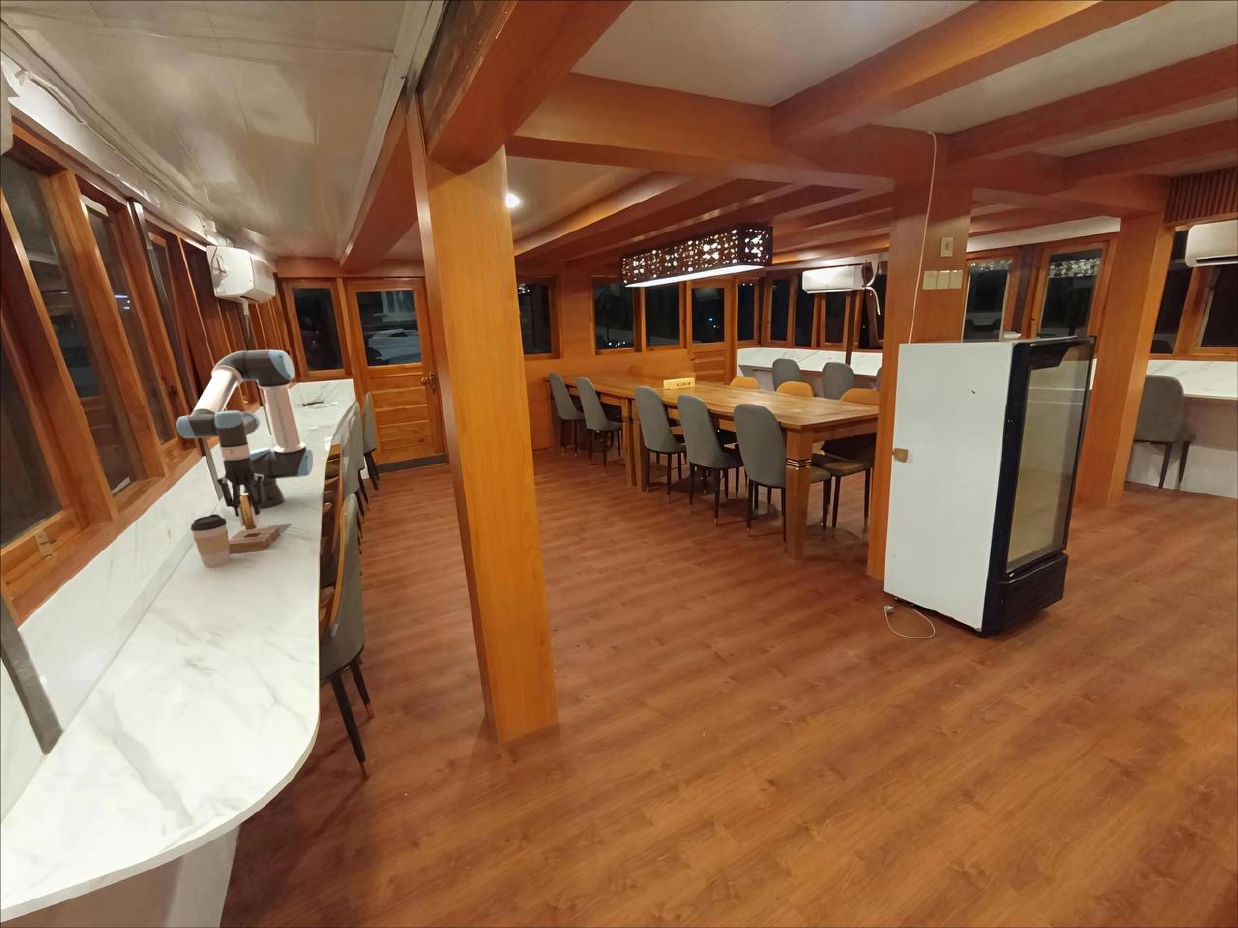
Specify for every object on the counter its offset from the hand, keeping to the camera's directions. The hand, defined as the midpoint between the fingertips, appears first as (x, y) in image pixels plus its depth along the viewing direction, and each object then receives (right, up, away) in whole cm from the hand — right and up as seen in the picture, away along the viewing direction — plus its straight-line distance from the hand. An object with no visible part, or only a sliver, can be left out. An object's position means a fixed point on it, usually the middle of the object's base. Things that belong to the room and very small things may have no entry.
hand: (250, 524), depth 180 cm
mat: (-1, -4, +15) cm, 15 cm away
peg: (0, -1, 0) cm, 1 cm away
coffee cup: (-2, -11, -12) cm, 16 cm away
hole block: (0, -7, +2) cm, 7 cm away
